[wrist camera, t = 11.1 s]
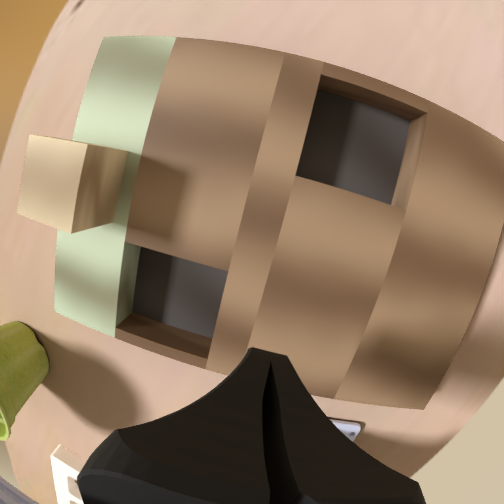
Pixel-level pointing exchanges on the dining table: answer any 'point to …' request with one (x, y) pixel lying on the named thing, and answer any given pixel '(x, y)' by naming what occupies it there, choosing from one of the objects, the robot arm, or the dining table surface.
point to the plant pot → (18, 371)
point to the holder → (66, 475)
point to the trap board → (283, 217)
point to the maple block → (70, 183)
